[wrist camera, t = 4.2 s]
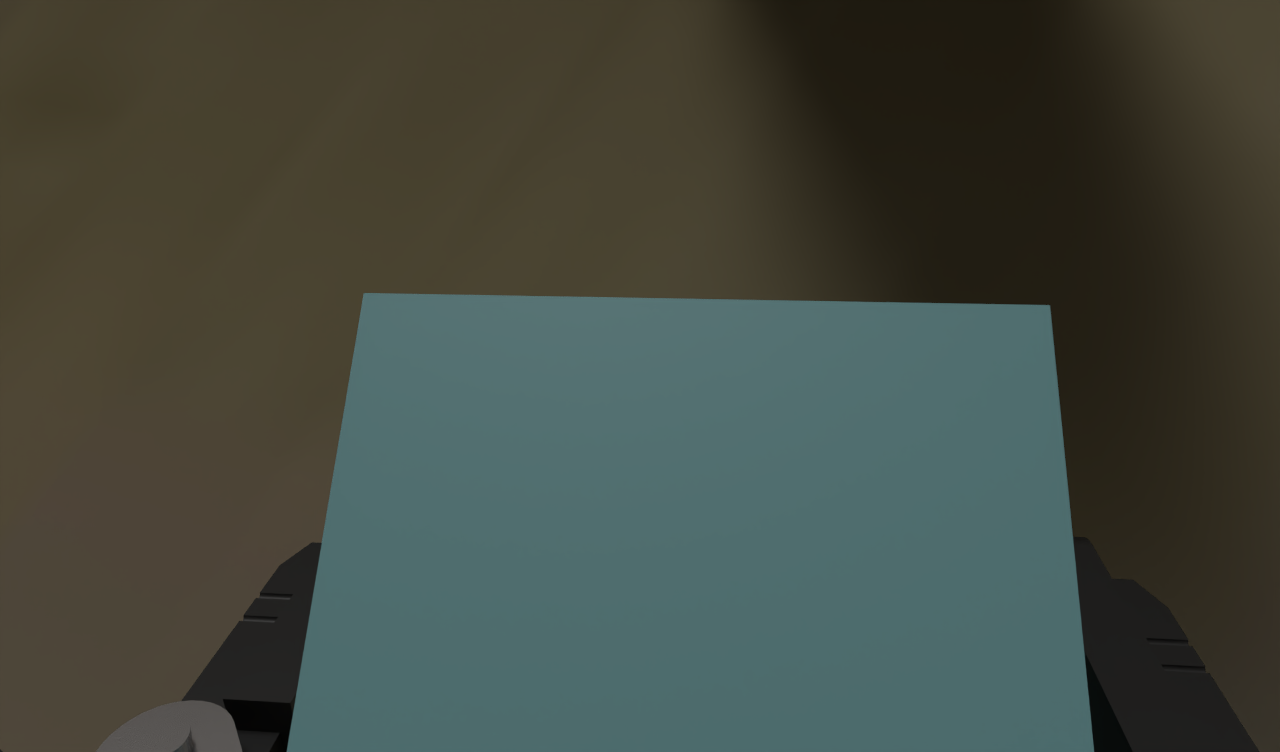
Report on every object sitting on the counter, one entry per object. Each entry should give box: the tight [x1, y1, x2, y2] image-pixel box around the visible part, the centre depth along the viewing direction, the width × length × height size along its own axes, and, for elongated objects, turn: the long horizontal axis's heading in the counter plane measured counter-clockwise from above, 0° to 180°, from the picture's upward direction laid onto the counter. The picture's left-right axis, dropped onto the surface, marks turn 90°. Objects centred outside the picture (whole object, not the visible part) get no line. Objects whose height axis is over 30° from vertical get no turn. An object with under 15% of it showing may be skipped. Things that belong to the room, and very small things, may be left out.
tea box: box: [287, 293, 1094, 752], centre depth 12 cm, size 5×5×12 cm
